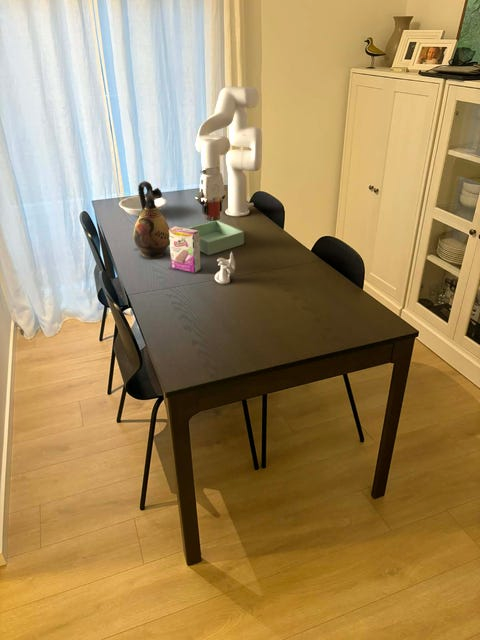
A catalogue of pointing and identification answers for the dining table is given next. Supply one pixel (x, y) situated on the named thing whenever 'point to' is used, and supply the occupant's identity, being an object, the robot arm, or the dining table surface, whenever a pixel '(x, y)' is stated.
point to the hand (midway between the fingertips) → (212, 212)
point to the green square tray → (218, 237)
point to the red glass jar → (213, 209)
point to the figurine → (225, 270)
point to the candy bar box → (184, 249)
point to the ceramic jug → (150, 224)
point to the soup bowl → (139, 205)
